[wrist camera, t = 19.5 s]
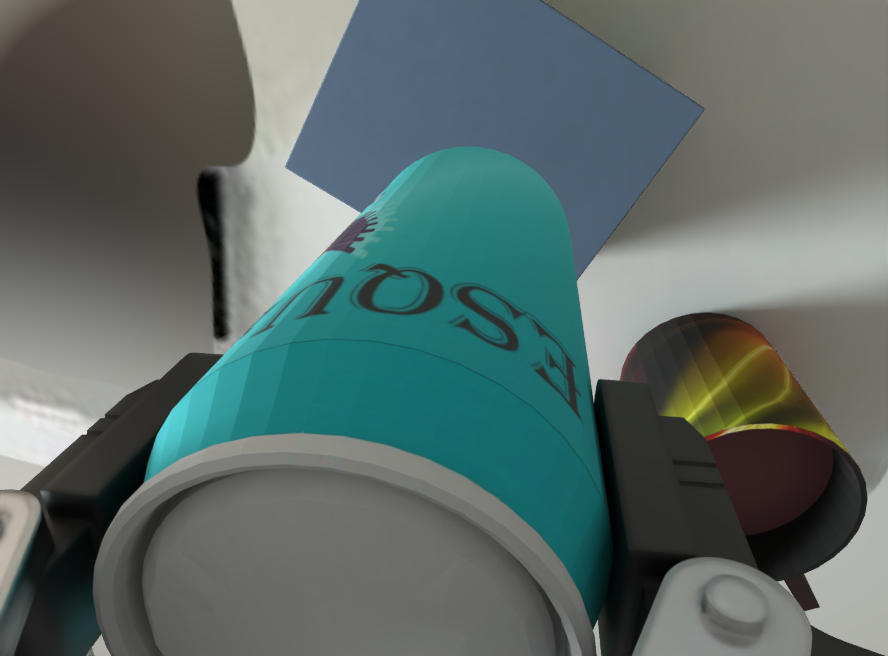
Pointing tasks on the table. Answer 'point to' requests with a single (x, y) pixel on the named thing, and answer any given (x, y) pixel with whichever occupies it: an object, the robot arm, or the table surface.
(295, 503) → the beverage can
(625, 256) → the table surface
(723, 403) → the mug
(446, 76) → the box lid
